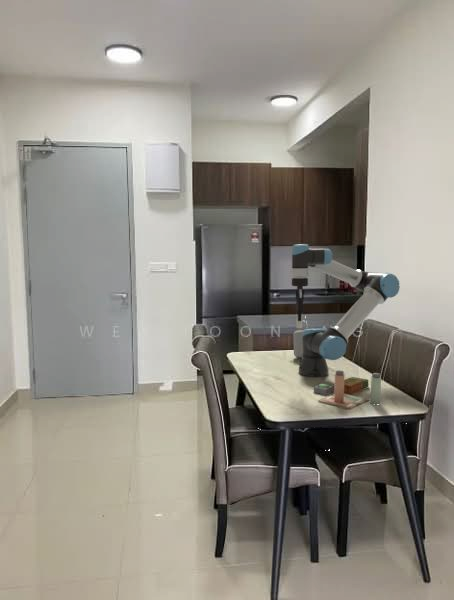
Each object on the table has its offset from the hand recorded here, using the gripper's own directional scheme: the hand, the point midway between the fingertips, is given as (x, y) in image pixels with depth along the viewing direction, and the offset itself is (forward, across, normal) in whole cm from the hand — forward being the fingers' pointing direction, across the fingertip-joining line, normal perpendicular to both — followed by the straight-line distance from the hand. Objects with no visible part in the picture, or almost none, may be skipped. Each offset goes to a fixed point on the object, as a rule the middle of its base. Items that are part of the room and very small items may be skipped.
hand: (299, 327), depth 216 cm
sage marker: (+26, +29, +29) cm, 49 cm away
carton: (+27, +9, +23) cm, 37 cm away
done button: (+25, +15, +10) cm, 31 cm away
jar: (+27, -53, +8) cm, 60 cm away
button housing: (+26, +15, +10) cm, 32 cm away
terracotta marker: (+26, +30, +14) cm, 42 cm away
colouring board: (+26, +27, +16) cm, 41 cm away
